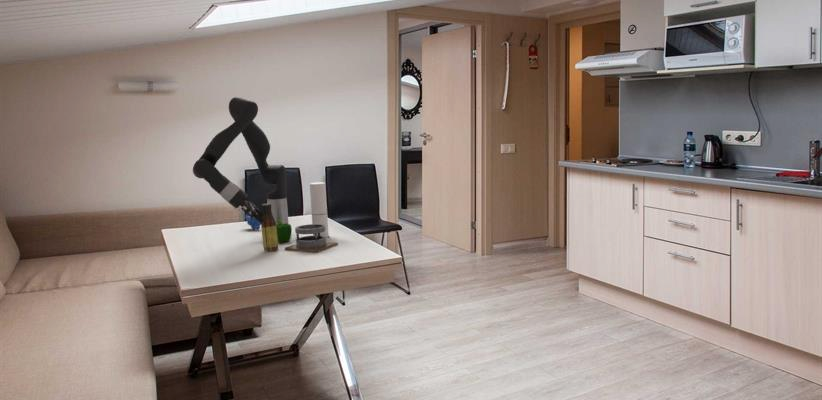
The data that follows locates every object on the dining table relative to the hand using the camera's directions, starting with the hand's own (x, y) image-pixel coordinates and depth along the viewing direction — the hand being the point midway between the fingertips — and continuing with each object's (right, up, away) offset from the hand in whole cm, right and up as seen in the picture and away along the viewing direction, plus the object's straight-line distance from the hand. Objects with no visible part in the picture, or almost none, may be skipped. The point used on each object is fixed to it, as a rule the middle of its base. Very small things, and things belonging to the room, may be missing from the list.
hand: (263, 220), depth 268 cm
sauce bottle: (+3, -13, +2) cm, 13 cm away
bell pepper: (+4, -11, +19) cm, 23 cm away
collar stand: (+20, -12, +4) cm, 23 cm away
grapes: (-18, -7, +53) cm, 57 cm away
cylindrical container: (+20, -9, +27) cm, 35 cm away
